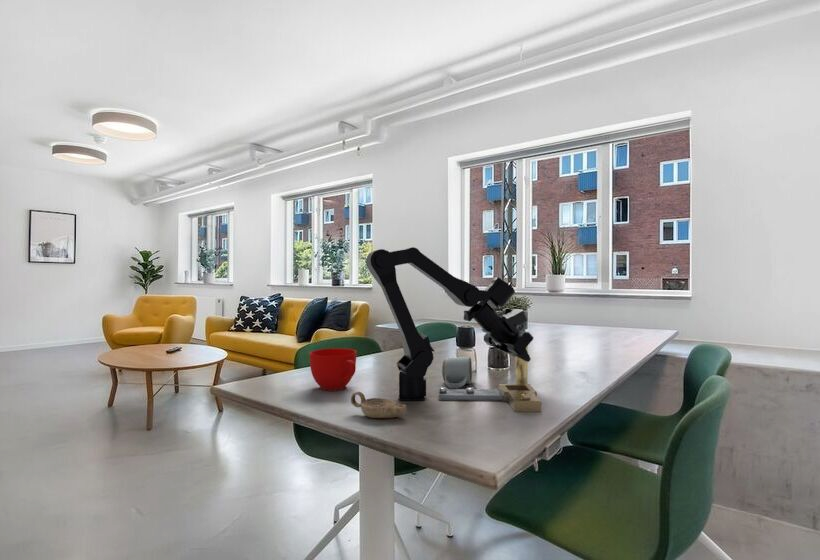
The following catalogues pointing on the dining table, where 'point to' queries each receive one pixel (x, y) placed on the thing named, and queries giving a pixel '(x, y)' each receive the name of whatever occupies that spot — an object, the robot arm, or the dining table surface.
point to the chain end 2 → (521, 397)
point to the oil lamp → (378, 407)
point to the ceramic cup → (333, 367)
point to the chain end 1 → (471, 394)
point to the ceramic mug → (457, 371)
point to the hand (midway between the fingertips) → (526, 359)
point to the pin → (521, 370)
